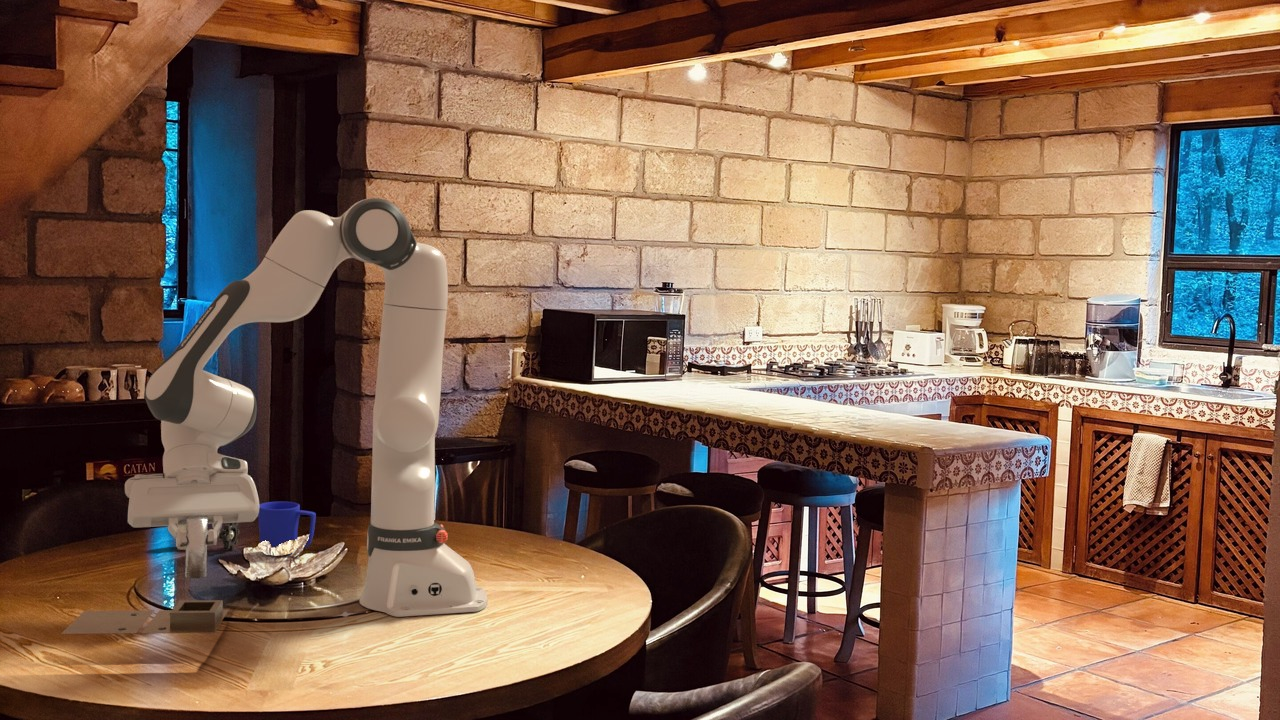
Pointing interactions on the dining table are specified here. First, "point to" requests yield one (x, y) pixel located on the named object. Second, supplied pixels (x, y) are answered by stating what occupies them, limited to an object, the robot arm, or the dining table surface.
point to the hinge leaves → (153, 620)
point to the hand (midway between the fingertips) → (197, 544)
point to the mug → (282, 522)
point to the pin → (196, 547)
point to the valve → (221, 535)
